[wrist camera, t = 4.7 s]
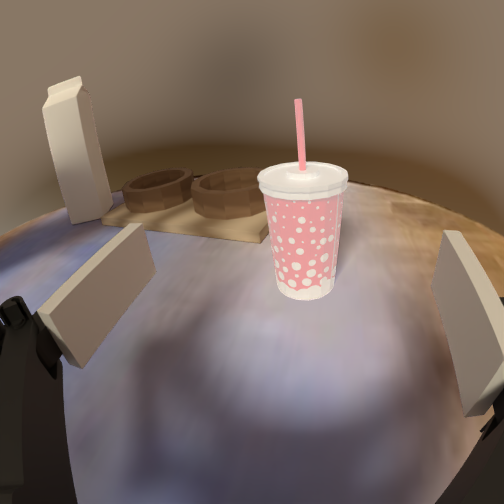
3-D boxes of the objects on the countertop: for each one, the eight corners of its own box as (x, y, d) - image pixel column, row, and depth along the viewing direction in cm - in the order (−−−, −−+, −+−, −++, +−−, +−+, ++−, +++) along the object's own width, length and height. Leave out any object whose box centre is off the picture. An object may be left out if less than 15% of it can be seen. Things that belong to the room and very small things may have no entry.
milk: (83, 211, 47) (55, 87, 36) (114, 203, 48) (87, 75, 37) (71, 225, 42) (38, 88, 31) (105, 217, 43) (73, 74, 32)
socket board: (102, 224, 40) (94, 197, 38) (161, 188, 51) (156, 165, 49) (260, 243, 31) (256, 203, 29) (299, 194, 42) (297, 164, 40)
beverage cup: (300, 254, 29) (291, 96, 22) (357, 277, 25) (363, 98, 17) (251, 286, 25) (229, 104, 18) (312, 318, 21) (307, 102, 14)
